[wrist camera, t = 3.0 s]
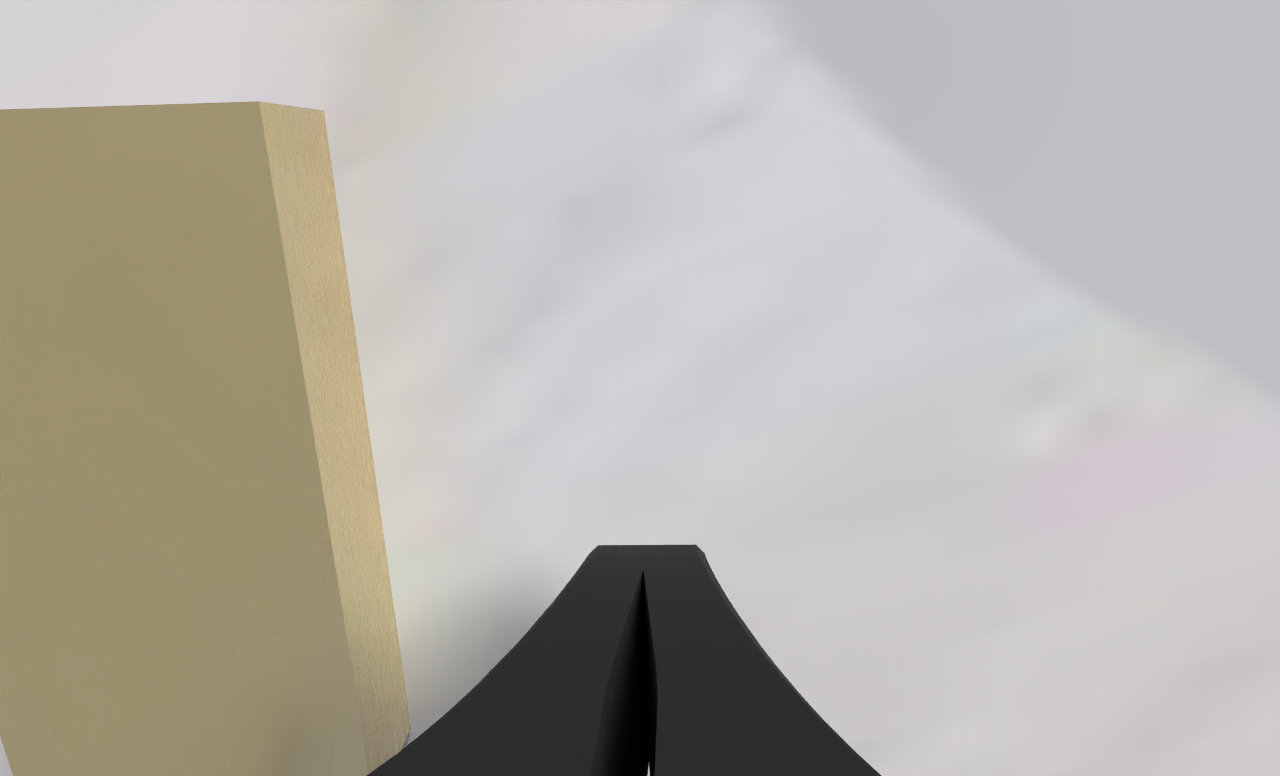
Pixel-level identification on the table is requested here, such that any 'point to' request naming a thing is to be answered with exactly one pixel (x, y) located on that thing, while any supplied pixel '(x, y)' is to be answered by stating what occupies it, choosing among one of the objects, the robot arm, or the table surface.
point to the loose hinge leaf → (185, 453)
